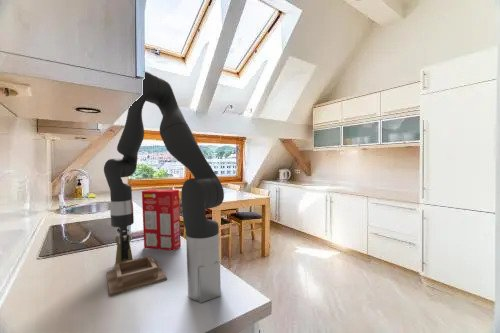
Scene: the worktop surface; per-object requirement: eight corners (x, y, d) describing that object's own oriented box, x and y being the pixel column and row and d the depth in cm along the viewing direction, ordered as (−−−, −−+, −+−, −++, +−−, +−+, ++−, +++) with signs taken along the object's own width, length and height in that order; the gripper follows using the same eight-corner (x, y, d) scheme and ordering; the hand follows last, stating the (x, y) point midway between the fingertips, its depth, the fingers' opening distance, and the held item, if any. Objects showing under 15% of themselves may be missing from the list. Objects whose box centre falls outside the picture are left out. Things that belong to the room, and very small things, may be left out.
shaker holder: (167, 279, 79) (166, 267, 79) (109, 295, 70) (109, 282, 70) (155, 262, 92) (155, 252, 92) (106, 274, 83) (106, 263, 83)
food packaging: (180, 245, 109) (178, 189, 108) (174, 250, 104) (172, 191, 103) (151, 243, 112) (149, 189, 111) (144, 247, 107) (141, 191, 106)
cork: (111, 265, 90) (110, 235, 90) (126, 258, 96) (125, 231, 95) (122, 268, 88) (120, 238, 87) (136, 261, 93) (135, 233, 92)
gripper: (136, 214, 87) (138, 261, 88) (130, 207, 99) (132, 249, 100) (111, 217, 83) (114, 267, 84) (109, 210, 95) (111, 253, 95)
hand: (124, 257), depth 92 cm, fingers closed on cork, 4 cm apart
